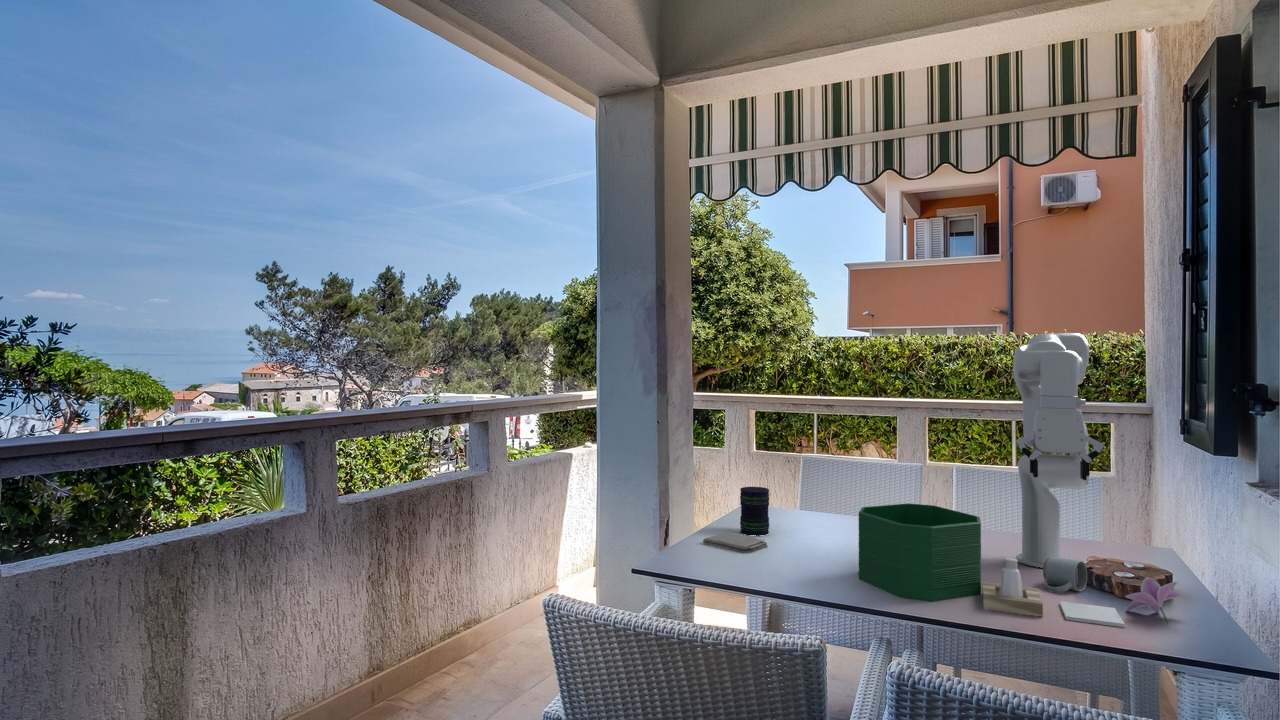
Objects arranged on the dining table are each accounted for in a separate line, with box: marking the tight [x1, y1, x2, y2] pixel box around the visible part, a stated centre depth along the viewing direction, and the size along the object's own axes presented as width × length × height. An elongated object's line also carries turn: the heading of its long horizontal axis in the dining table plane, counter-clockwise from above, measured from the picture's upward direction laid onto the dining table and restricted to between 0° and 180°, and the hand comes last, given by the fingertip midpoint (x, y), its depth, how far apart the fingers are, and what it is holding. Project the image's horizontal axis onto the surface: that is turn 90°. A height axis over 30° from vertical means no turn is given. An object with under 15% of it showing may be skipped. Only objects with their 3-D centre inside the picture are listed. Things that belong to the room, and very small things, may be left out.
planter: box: [858, 503, 982, 603], centre depth 181 cm, size 26×26×18 cm
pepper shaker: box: [999, 557, 1023, 598], centre depth 164 cm, size 5×5×11 cm
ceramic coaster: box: [1059, 600, 1126, 628], centre depth 157 cm, size 11×11×1 cm
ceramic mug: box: [1042, 557, 1088, 593], centre depth 177 cm, size 11×8×8 cm
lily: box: [1124, 576, 1184, 625], centre depth 156 cm, size 12×12×10 cm
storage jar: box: [739, 486, 770, 537], centre depth 236 cm, size 10×10×15 cm
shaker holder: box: [981, 581, 1044, 618], centre depth 164 cm, size 12×12×3 cm
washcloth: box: [702, 531, 768, 554], centre depth 219 cm, size 12×18×3 cm, turn 47°
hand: (1059, 477), depth 159 cm, fingers open, 9 cm apart
